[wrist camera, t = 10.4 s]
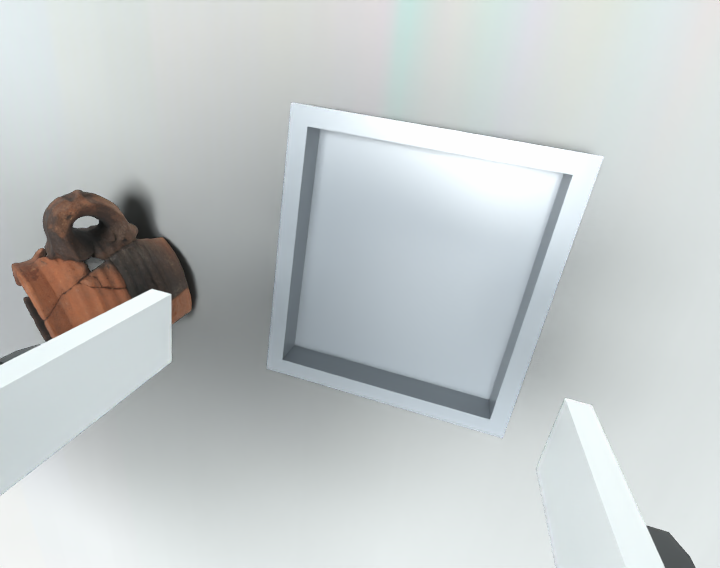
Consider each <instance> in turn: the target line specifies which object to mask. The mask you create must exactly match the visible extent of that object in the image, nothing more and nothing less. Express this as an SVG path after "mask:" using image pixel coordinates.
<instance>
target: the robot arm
mask: <svg viewBox="0 0 720 568" xmlns="http://www.w3.org/2000/svg"><path fill="white" fill-rule="evenodd" d="M171 362H172V320H171V294H169V293H165V292H162V291H158V290H154V289H151V290H149V291H147V292H145V293H143V294H141V295H139V296H137V297H135V298H133V299H131V300H129V301H127V302H125V303H123V304H121V305H119V306H117V307H115V308H113V309H111V310H109V311H107V312H105V313H103V314H101V315H99V316H97V317H95V318H93V319H91V320H89V321H87V322H85V323H83V324H81V325H79V326H77V327H75V328H73V329H71V330H69V331H67V332H65V333H63V334H61V335H59V336H57V337H55V338H53V339H51V340H49V341H47V342H45V343H43V344H39V345H35V346H32V347H28V348H25V349H21V350H18V351H15V352H13V353H11V354H9V355H7V356H5V357H3V358H1V359H0V496H1V495H2V494H3V493H4V492H6V491H7V490H8V489H10V488H11V487H12V486H13V485H15V484H16V483H17V482H19V481H20V480H21V479H22V478H24V477H25V476H26V475H27V474H29V473H30V472H31V471H33V470H34V469H35V468H36V467H38V466H39V465H40V464H42V463H43V462H44V461H45V460H47V459H48V458H49V457H50V456H52V455H53V454H54V453H56V452H57V451H58V450H59V449H61V448H62V447H63V446H65V445H66V444H67V443H68V442H70V441H71V440H72V439H74V438H75V437H76V436H77V435H79V434H80V433H81V432H82V431H84V430H85V429H86V428H88V427H89V426H90V425H91V424H93V423H94V422H95V421H97V420H98V419H99V418H100V417H102V416H103V415H104V414H106V413H107V412H108V411H109V410H111V409H112V408H113V407H114V406H116V405H117V404H118V403H120V402H121V401H122V400H123V399H125V398H126V397H127V396H129V395H130V394H131V393H132V392H134V391H135V390H136V389H137V388H139V387H140V386H141V385H143V384H144V383H145V382H146V381H148V380H149V379H150V378H152V377H153V376H154V375H155V374H157V373H158V372H159V371H161V370H162V369H163V368H164V367H166V366H167V365H168V364H169V363H171ZM536 471H537V476H538V481H539V486H540V491H541V496H542V501H543V506H544V511H545V516H546V521H547V526H548V531H549V536H550V541H551V546H552V551H553V556H554V561H555V566H556V568H695V566H694V564H693V562H692V560H691V558H690V556H689V555H688V554H687V553H686V552H685V550H684V549H683V548H682V547H681V546H680V545H679V543H678V542H677V541H676V540H675V539H674V538H673V537H672V535H671V534H670V533H669V532H666V531H663V530H660V529H656V528H653V527H650V526H646V524H645V522H644V520H643V518H642V515H641V513H640V511H639V509H638V507H637V504H636V502H635V500H634V498H633V495H632V493H631V491H630V489H629V486H628V484H627V482H626V480H625V478H624V475H623V473H622V471H621V469H620V466H619V464H618V462H617V460H616V457H615V455H614V453H613V451H612V449H611V446H610V444H609V442H608V440H607V437H606V435H605V433H604V431H603V428H602V426H601V424H600V422H599V420H598V417H597V415H596V413H595V411H594V408H593V406H592V405H590V404H587V403H583V402H579V401H575V400H571V399H568V398H565V399H564V401H563V404H562V406H561V408H560V411H559V413H558V416H557V418H556V421H555V423H554V425H553V428H552V430H551V433H550V435H549V438H548V440H547V442H546V445H545V447H544V450H543V452H542V455H541V457H540V460H539V462H538V464H537V467H536Z"/></svg>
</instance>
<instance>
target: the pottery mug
mask: <svg viewBox="0 0 720 568" xmlns="http://www.w3.org/2000/svg"><path fill="white" fill-rule="evenodd" d="M83 216H92V217H95V218H96V219H98V220H99V224H98V225H95V226H90V227H89V228H78V229H77V228H73V227H72V226H73V223H74V222H75V220H77V219H78V218H80V217H83ZM43 228H44V231H45V234H46V236H47V243H46V245H45V249H44V248H41V249H39V250H38V251H37V252H36V253H35V255H34V256H33V258H32V259H30V260H28V261H24V262H21V263H14V264H12V271H13V276H14V278H15V281H16V284H17V285H18V286H23V288H24V290H25V291H26V293H27V295H28V296H29V297H25V298H24V303H25V304H26V307H27V309H28V311H29V312H30V315H31V316H32V318H33V319H34V321H35V324H36V326H37V328H38V329H39V331H40V333H41V335H42V336H43V338H44V339H45V341H46V342H47V341H49V340H51V339H53V338H55V337H57V336H59V335H61V334H63V333H65V332H67V331H69V330H71V329H73V328H75V327H77V326H79V325H81V324H83V323H85V322H87V321H89V320H91V319H93V318H95V317H97V316H99V315H101V314H103V313H105V312H107V311H109V310H111V309H113V308H115V307H117V306H119V305H121V304H123V303H125V302H127V301H129V300H131V299H133V298H135V297H137V296H139V295H141V294H143V293H145V292H147V291H149V290H151V289H154V290H158V291H162V292H165V293H169V294H171V320H172V324H174V323H175V322H176V321H177V320H179V319H180V318H182V317H183V316H184V315H185V314H187V313H189V312H190V311H191V309H192V308H191V306H192V301H191V295H190V291H189V288H188V283H187V280H186V278H185V274H184V269H183V268H182V266H181V264H180V261H179V259H178V257H177V255H176V253H175V252H174V250H173V249H172V248H171V246H170V245H169V243H168V242H167V241H166V240H165V239H164V238H162V237H159V238H153V239H148V238H144V239H136V236H137V233H138V229H137V227H136V226H135V225H133V224H131V223H129V222H128V221H127V220H126V218H125V216H124V215H123V213H122V212H121V211H120V209H119V208H118V207H117V206H116V205H115V204H114V203H112V202H111V201H109V200H107V199H105V198H103V197H101V196H99V195H96V194H93V193H88V192H82V191H81V190H75V191H73V192H71V193H69V194H66V195H64V196H62V197H58V198H56V199H55V200H54V201H53V202H52V203H50V205H49V206H48V207H47V209H46V210H45V213H44V216H43ZM46 255H47V256H46ZM91 256H92V257H95V258H99V259H102V260H104V261H105V262H103V263H102V264H101V265H100V266H99V267H97V268H96V269H95V270H92V272H91V271H90V269H89V268H88V266H87V265H86V264H85V263H84V262H83V261H85V260H87V259H89V258H90V257H91Z"/></svg>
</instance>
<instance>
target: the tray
mask: <svg viewBox="0 0 720 568" xmlns="http://www.w3.org/2000/svg"><path fill="white" fill-rule="evenodd" d="M603 158H604V156H599V155H593V154H588V153H582V152H576V151H570V150H565V149H559V148H553V147H547V146H542V145H536V144H530V143H524V142H518V141H513V140H507V139H501V138H495V137H490V136H484V135H478V134H472V133H467V132H461V131H455V130H449V129H443V128H438V127H432V126H426V125H420V124H415V123H409V122H403V121H397V120H392V119H386V118H380V117H374V116H369V115H363V114H357V113H351V112H345V111H340V110H334V109H328V108H322V107H317V106H311V105H305V104H299V103H293V102H291V109H290V120H289V131H288V142H287V152H286V163H285V174H284V185H283V196H282V206H281V217H280V228H279V239H278V250H277V261H276V271H275V282H274V293H273V304H272V315H271V325H270V336H269V347H268V358H267V369H269V370H272V371H276V372H279V373H283V374H286V375H289V376H293V377H296V378H300V379H303V380H306V381H310V382H313V383H317V384H320V385H323V386H327V387H330V388H334V389H337V390H340V391H344V392H347V393H351V394H354V395H357V396H361V397H364V398H367V399H371V400H374V401H378V402H381V403H384V404H388V405H391V406H395V407H398V408H401V409H405V410H408V411H412V412H415V413H418V414H422V415H425V416H429V417H432V418H435V419H439V420H442V421H446V422H449V423H452V424H456V425H459V426H463V427H466V428H469V429H473V430H476V431H479V432H483V433H486V434H490V435H493V436H496V437H500V438H503V436H504V434H505V431H506V428H507V425H508V422H509V420H510V417H511V414H512V411H513V409H514V406H515V403H516V400H517V397H518V395H519V392H520V389H521V386H522V383H523V381H524V378H525V375H526V372H527V370H528V367H529V364H530V361H531V358H532V356H533V353H534V350H535V347H536V344H537V342H538V339H539V336H540V333H541V331H542V328H543V325H544V322H545V319H546V317H547V314H548V311H549V308H550V305H551V303H552V300H553V297H554V294H555V292H556V289H557V286H558V283H559V280H560V278H561V275H562V272H563V269H564V266H565V264H566V261H567V258H568V255H569V253H570V250H571V247H572V244H573V241H574V239H575V236H576V233H577V230H578V227H579V225H580V222H581V219H582V216H583V214H584V211H585V208H586V205H587V202H588V200H589V197H590V194H591V191H592V188H593V186H594V183H595V180H596V177H597V175H598V172H599V169H600V166H601V163H602V161H603Z"/></svg>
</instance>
